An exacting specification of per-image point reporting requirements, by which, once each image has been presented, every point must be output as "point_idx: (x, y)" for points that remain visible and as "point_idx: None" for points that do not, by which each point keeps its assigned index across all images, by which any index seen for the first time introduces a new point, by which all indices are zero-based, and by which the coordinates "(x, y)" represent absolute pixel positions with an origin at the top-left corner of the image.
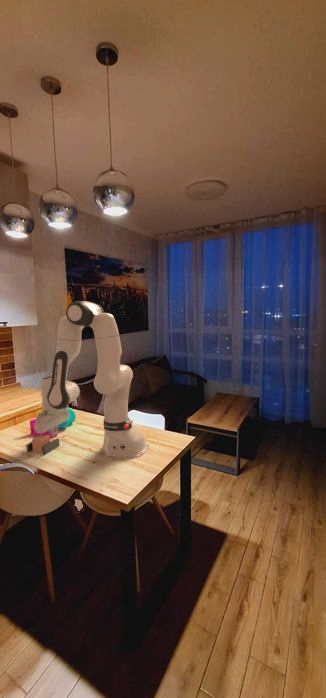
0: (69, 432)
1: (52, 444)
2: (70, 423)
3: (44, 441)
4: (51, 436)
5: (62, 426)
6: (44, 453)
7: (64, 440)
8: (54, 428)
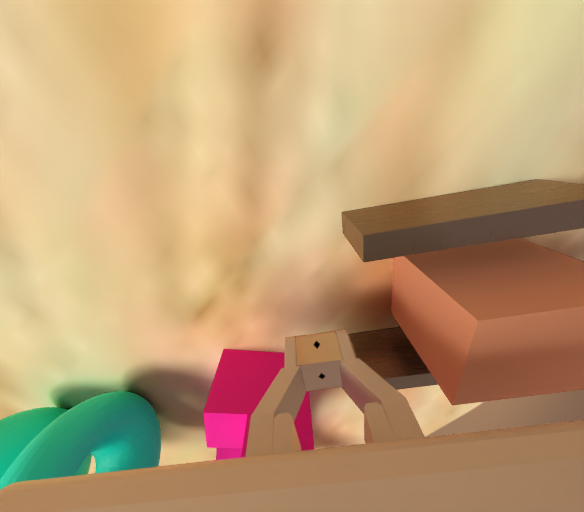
0: (130, 329)
1: (471, 209)
2: (54, 410)
3: (552, 282)
4: (268, 363)
5: (128, 411)
6: (551, 182)
7: (244, 256)
8: (291, 415)
